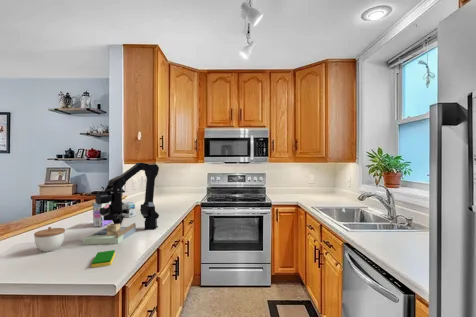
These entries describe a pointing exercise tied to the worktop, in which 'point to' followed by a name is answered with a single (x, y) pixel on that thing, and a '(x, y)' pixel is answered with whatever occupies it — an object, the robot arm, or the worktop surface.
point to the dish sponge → (103, 258)
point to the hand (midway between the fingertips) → (117, 229)
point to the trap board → (102, 236)
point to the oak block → (113, 229)
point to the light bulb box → (131, 209)
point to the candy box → (99, 215)
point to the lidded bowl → (49, 239)
